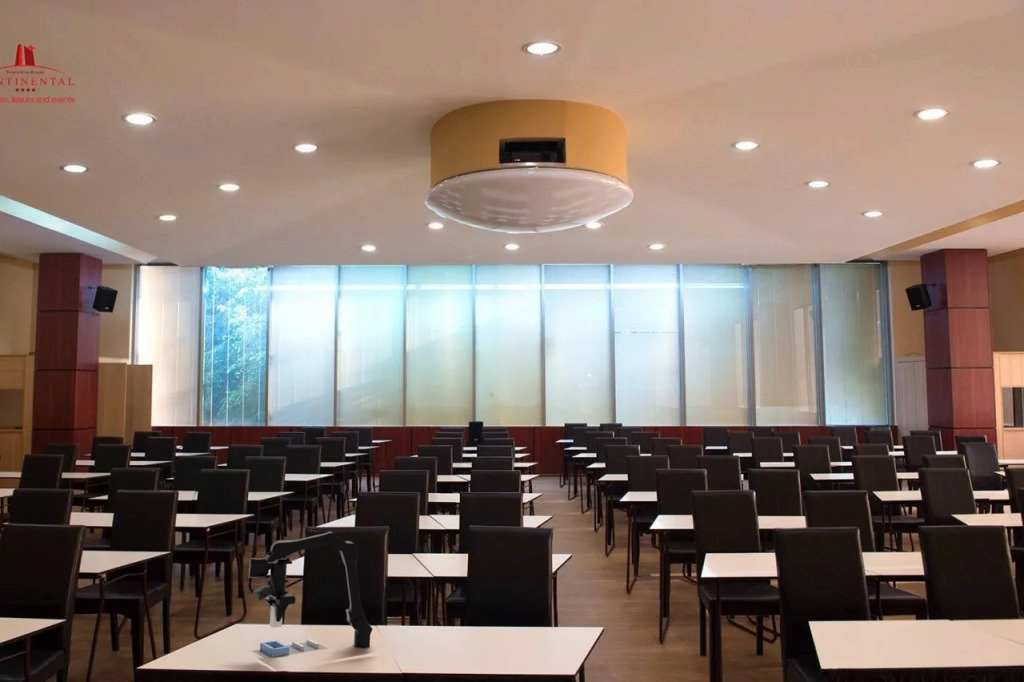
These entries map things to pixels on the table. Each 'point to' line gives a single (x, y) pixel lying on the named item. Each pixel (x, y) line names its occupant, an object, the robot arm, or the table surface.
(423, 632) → the table surface
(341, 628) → the table surface
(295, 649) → the board
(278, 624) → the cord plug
